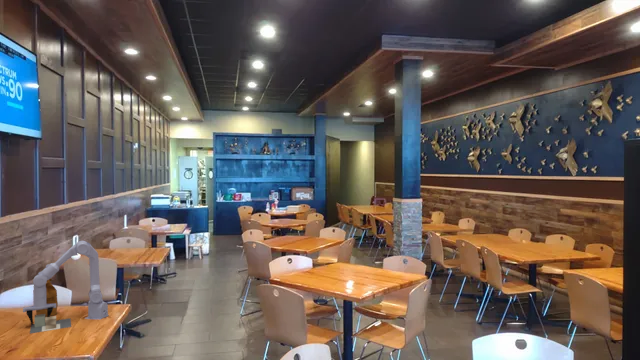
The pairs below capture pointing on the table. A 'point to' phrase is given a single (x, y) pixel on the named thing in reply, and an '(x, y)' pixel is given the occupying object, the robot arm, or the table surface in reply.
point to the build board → (59, 325)
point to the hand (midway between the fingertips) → (39, 323)
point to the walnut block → (50, 322)
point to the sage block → (39, 320)
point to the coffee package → (49, 299)
